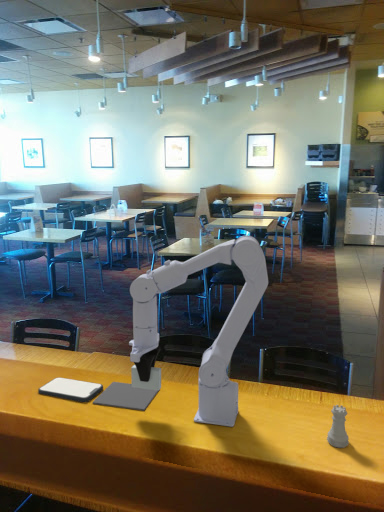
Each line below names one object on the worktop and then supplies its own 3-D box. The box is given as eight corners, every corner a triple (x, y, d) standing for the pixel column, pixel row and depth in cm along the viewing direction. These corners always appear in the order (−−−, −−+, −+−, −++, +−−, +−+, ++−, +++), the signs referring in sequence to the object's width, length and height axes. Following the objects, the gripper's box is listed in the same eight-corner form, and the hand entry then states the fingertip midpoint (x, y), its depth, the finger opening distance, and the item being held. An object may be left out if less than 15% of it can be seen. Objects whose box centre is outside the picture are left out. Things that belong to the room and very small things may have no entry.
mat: (160, 388, 113) (160, 387, 113) (144, 410, 102) (144, 409, 102) (113, 383, 117) (113, 381, 117) (92, 403, 105) (92, 402, 105)
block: (161, 387, 100) (161, 368, 100) (158, 390, 99) (158, 370, 98) (134, 384, 102) (133, 364, 101) (131, 386, 100) (131, 367, 100)
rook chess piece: (334, 434, 92) (336, 400, 90) (353, 443, 88) (355, 408, 87) (322, 441, 89) (324, 406, 88) (340, 451, 85) (342, 415, 84)
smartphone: (36, 395, 111) (86, 404, 105) (35, 389, 111) (86, 398, 105) (57, 381, 119) (105, 389, 114) (57, 376, 119) (105, 384, 113)
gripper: (140, 315, 106) (141, 365, 108) (117, 333, 92) (118, 390, 94) (166, 317, 104) (167, 368, 106) (146, 336, 90) (147, 394, 92)
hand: (146, 378), depth 100 cm, fingers closed on block, 2 cm apart
